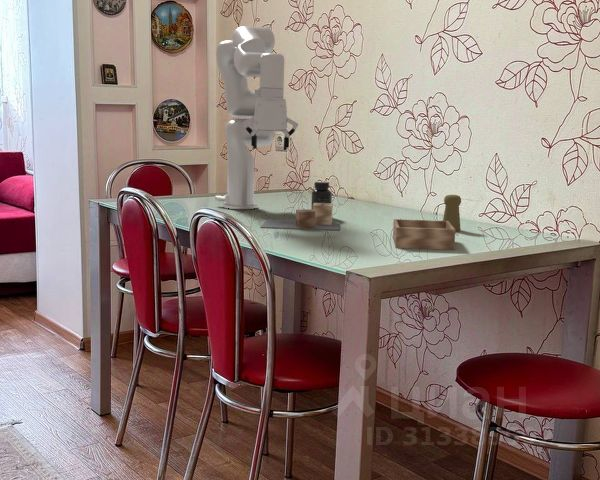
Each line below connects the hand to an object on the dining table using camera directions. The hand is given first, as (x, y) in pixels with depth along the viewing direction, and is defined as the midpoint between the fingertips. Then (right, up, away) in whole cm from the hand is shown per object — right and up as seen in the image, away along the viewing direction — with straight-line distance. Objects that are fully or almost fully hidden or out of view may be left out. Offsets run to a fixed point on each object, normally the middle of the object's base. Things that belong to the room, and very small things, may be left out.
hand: (270, 149), depth 245 cm
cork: (+56, -26, -4) cm, 62 cm away
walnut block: (+11, -25, -6) cm, 28 cm away
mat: (+10, -24, -1) cm, 26 cm away
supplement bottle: (+17, -21, +15) cm, 31 cm away
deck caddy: (+43, -30, -29) cm, 60 cm away
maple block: (+17, -17, +1) cm, 24 cm away
